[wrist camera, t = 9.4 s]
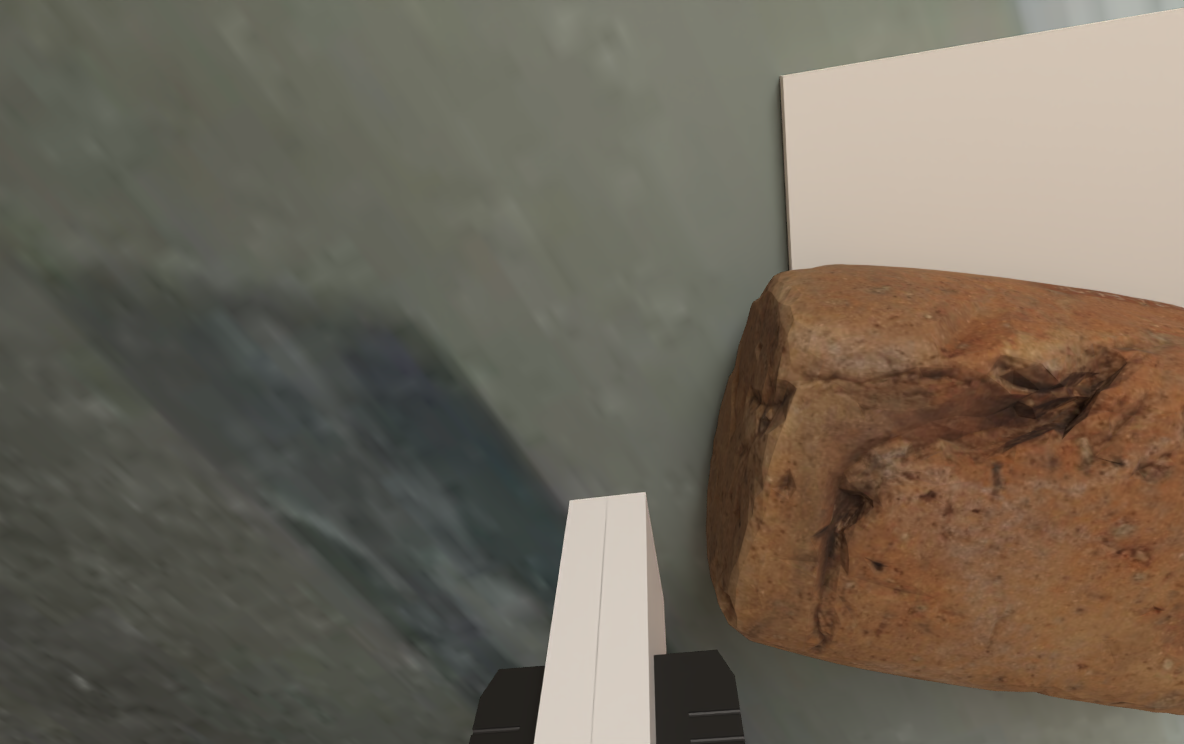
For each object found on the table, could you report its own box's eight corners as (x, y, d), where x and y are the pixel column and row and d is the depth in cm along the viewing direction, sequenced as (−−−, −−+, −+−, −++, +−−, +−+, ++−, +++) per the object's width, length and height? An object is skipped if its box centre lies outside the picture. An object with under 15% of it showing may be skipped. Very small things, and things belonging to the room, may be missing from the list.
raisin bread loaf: (693, 516, 26) (1245, 597, 25) (704, 677, 19) (1462, 795, 18) (752, 230, 22) (1423, 315, 21) (792, 305, 15) (1797, 437, 14)
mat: (801, 527, 26) (807, 546, 25) (779, 76, 20) (786, 77, 19) (1273, 489, 24) (1299, 508, 23) (1419, -33, 18) (1464, -38, 17)
